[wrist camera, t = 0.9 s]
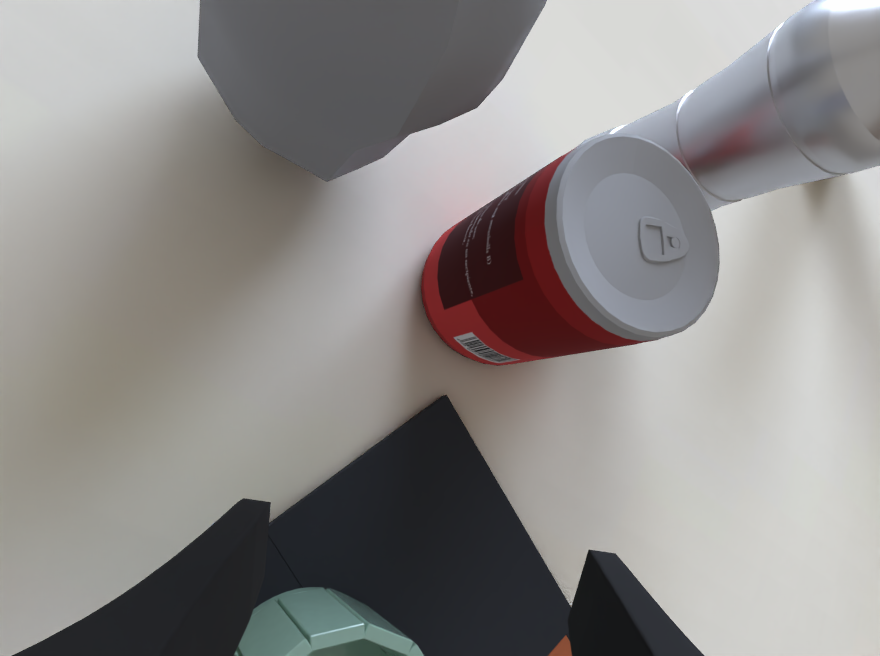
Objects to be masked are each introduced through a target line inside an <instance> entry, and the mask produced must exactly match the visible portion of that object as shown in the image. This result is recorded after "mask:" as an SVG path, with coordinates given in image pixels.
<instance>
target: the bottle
mask: <svg viewBox="0 0 880 656" xmlns="http://www.w3.org/2000/svg"><path fill="white" fill-rule="evenodd" d="M546 1H547V0H200V14H199V36H198V58H199V60H200V62H201V64H202V65H203V67H204V69H205V70H206V72H207V74H208V75H209V77H210V79H211V80H212V82H213V84H214V85H215V87H216V89H217V90H218V92H219V94H220V95H221V97H222V99H223V100H224V102H225V104H226V105H227V107H228V109H229V110H230V112H231V114H232V115H233V117H234V119H235V120H236V121H237V122H238V123H239V124H240V125H241V126H242V127H243V128H244V129H245V130H246V131H247V132H248V133H250V134H251V135H252V136H253V137H254V138H255V139H256V140H257V141H258V142H259V143H260V144H261V145H262V146H264V147H265V148H267V149H269V150H271V151H273V152H275V153H276V154H278V155H280V156H282V157H284V158H286V159H287V160H289V161H291V162H293V163H295V164H296V165H298V166H300V167H302V168H304V169H305V170H307V171H309V172H311V173H312V174H314V175H316V176H318V177H319V178H321V179H323V180H325V181H330V180H332V179H335V178H337V177H340V176H342V175H344V174H347V173H349V172H352V171H354V170H356V169H359V168H361V167H363V166H365V165H368V164H370V163H372V162H374V161H376V160H378V159H381V158H383V157H384V156H385V155H387V154H388V153H389V152H390V151H391V150H392V149H393V148H394V147H396V146H397V145H398V144H399V143H400V142H401V141H402V140H404V139H405V138H406V137H407V136H408V135H409V134H411V133H415V132H418V131H421V130H424V129H427V128H430V127H434V126H437V125H440V124H442V123H444V122H446V121H449V120H451V119H453V118H455V117H458V116H460V115H462V114H464V113H466V112H469V111H471V110H473V109H475V108H477V107H478V106H479V105H480V104H481V103H482V102H483V101H484V99H485V98H486V97H487V96H488V95H489V94H490V93H491V92H492V91H493V89H494V88H495V87H496V86H497V85H498V84H499V83H500V82H501V80H502V79H503V78H504V76H505V74H506V73H507V71H508V69H509V67H510V66H511V64H512V62H513V60H514V59H515V57H516V55H517V53H518V51H519V50H520V48H521V46H522V44H523V43H524V41H525V39H526V37H527V36H528V34H529V32H530V30H531V29H532V27H533V25H534V23H535V22H536V20H537V18H538V16H539V15H540V13H541V11H542V9H543V8H544V6H545V4H546Z"/></svg>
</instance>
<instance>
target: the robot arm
mask: <svg viewBox="0 0 880 656" xmlns="http://www.w3.org/2000/svg"><path fill="white" fill-rule="evenodd" d="M270 505H271V502H265V501H258V500H251V499H244V498H243V499H242V500H240V501H239V502H237V503H236V504H235V505H234V506H233V507H232V508H231V509H230V510H228V511H227V512H226V513H225V514H224V515H223V516H222V517H221V518H220V519H218V520H217V521H216V522H215V523H214V524H213V525H212V526H210V527H209V528H208V529H207V530H206V531H205V532H204V533H202V534H201V535H200V536H199V537H198V538H196V539H195V540H194V541H193V542H192V543H190V544H189V545H188V546H187V547H185V548H184V549H183V550H182V551H181V552H179V553H178V554H177V555H176V556H174V557H173V558H172V559H171V560H169V561H168V562H167V563H165V564H164V565H163V566H161V567H160V568H158V569H157V570H156V571H154V572H153V573H152V574H150V575H149V576H148V577H146V578H145V579H144V580H142V581H141V582H140V583H138V584H137V585H135V586H134V587H132V588H131V589H129V590H128V591H127V592H125V593H124V594H122V595H121V596H119V597H118V598H116V599H114V600H113V601H111V602H110V603H108V604H107V605H105V606H103V607H102V608H100V609H99V610H97V611H95V612H94V613H92V614H90V615H89V616H87V617H85V618H83V619H82V620H80V621H78V622H76V623H74V624H73V625H71V626H69V627H67V628H65V629H63V630H61V631H60V632H58V633H56V634H54V635H52V636H50V637H49V638H47V639H45V640H43V641H41V642H39V643H37V644H35V645H33V646H31V647H29V648H27V649H25V650H23V651H21V652H19V653H17V654H14V655H12V656H234V654H235V651H236V649H237V647H238V645H239V643H240V641H241V638H242V636H243V634H244V632H245V630H246V628H247V625H248V623H249V621H250V618H251V615H252V612H253V609H254V607H255V604H256V601H257V598H258V595H259V592H260V589H261V586H262V583H263V579H264V576H265V564H266V553H267V541H268V529H269V517H270ZM568 628H569V637H570V645H571V652H572V656H704V655H703V654H702V653H701V652H700V651H699V650H698V649H697V648H696V646H695V645H694V644H693V643H692V642H691V641H690V640H689V639H688V638H687V637H686V636H685V635H684V633H683V632H682V631H681V630H680V629H679V628H678V627H677V626H676V624H675V623H674V622H673V621H672V620H671V619H670V618H669V616H668V615H667V614H666V613H665V612H664V611H663V610H662V608H661V607H660V606H659V605H658V604H657V602H656V601H655V600H654V599H653V598H652V597H651V595H650V594H649V593H648V592H647V591H646V589H645V588H644V587H643V586H642V585H641V583H640V582H639V581H638V580H637V578H636V577H635V576H634V575H633V574H632V572H631V571H630V570H629V569H628V568H627V566H626V565H625V564H624V563H623V562H622V561H621V559H620V558H619V557H618V556H617V555H616V554H615V553H608V552H601V551H594V550H589V551H588V554H587V558H586V561H585V564H584V567H583V571H582V574H581V577H580V581H579V584H578V587H577V591H576V594H575V597H574V601H573V604H572V607H571V610H570V614H569V617H568Z"/></svg>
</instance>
